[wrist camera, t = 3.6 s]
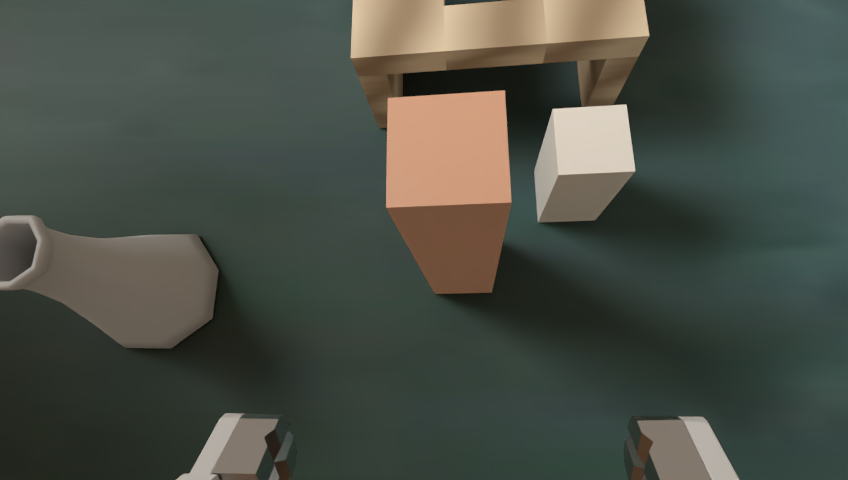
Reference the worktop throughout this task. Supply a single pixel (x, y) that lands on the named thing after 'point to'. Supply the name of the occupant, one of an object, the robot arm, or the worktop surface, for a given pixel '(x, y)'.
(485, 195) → the long pin
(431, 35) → the tan block with hole
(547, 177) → the short block
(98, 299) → the flask
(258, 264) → the worktop surface
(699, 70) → the worktop surface
